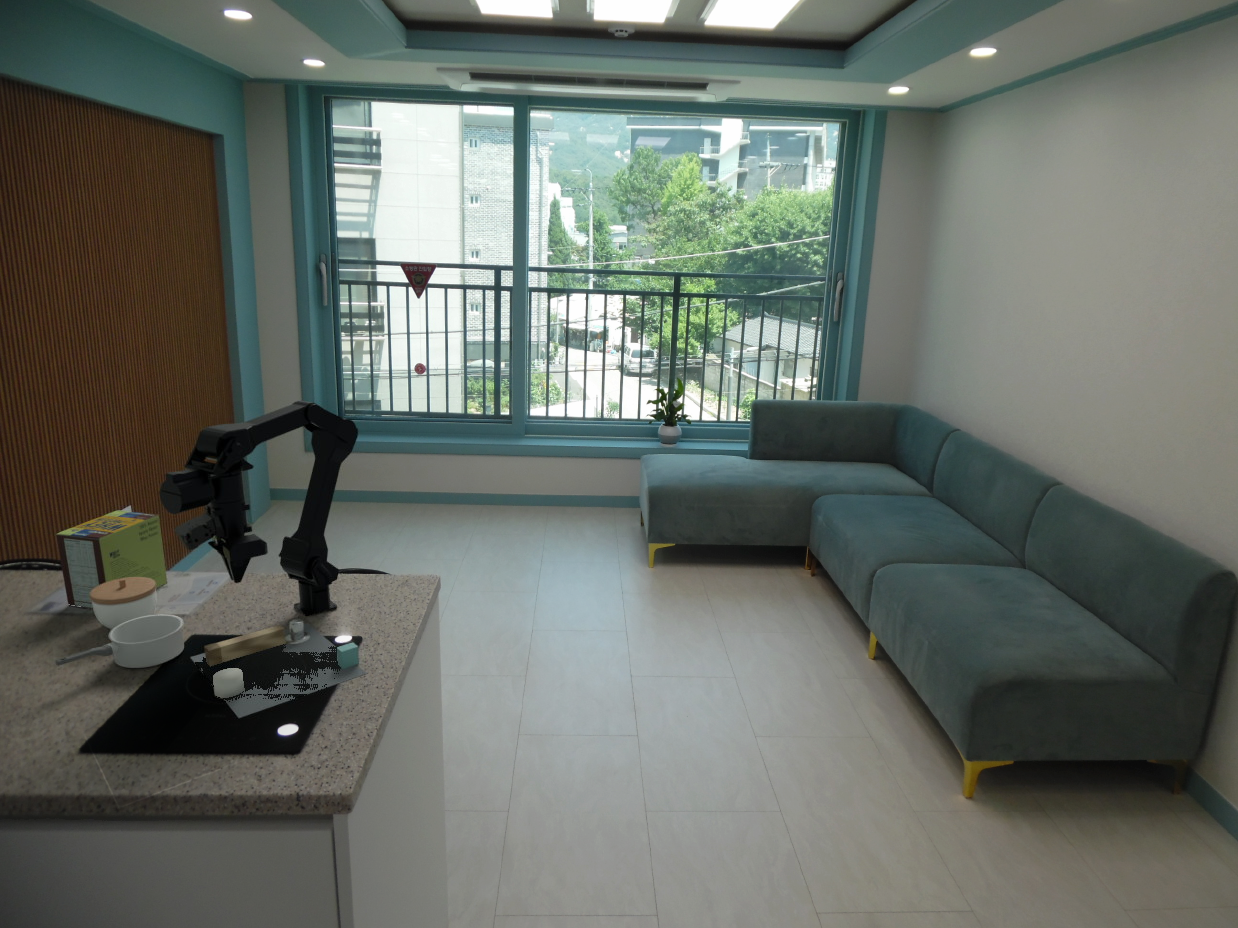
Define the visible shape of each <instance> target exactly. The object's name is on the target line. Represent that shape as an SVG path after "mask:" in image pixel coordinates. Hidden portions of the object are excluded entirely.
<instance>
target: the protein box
mask: <svg viewBox="0 0 1238 928" xmlns="http://www.w3.org/2000/svg"><path fill="white" fill-rule="evenodd" d="M160 524H161V523H160V517H159V514H156V513H155V514H154V513H147V512H146V513H145V512H136V511H127V510H121V509H120V510H119V509H118V510H115V511H111V512H109V513H107V514H104V515H102V516H99V517H97V518H96V517H95V518H93V519H90V520H88V521H85V522H83V523H80V524H78V525H76V526H73V527H70V528H67V529H65V530H62V531H60V532H58V533H56V534H55V535H56V543H57V548H58V554H59V559H60V565H61V571H62V576H63V583H64V589H65V593H66V600H67V605H68V604H70V605H75V606H81V607H85V608H84V609H87V608H90V609H89V610H93V606H92V601H91V599H90V592H91V590H92V589H94V588H95V587H96V586H98V585H100V584H103V583H105V582H108V581H112V580H116V579H121V578H127V577H146V578H150V579H153V580H154V581H155V582H156V589H157V588H161V587H162V586H164V585H165V584H167V583H168V578H167V570H166V569H167V568H166V561H165V555H164V545H163V538H162V532H161V531H162V530H161V525H160Z"/></svg>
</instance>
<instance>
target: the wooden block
mask: <svg viewBox="0 0 1238 928" xmlns="http://www.w3.org/2000/svg"><path fill="white" fill-rule="evenodd" d="M285 630H286V629H285V627H283V626H282V625H281V624H278V625H275V626H272V627H268V628H264V629H261V630H257V631H253V632H251V633H248V634H243V635H240V636H236V637H233V638H230V639H226V640H221V641H219V642H214V643H210V644H207V645H204V653H205V657H206V662H207V664H208V665H209V666H210V667H211V666H214V665H217V664H221V663H223V662H227V661H230V660H233V659H236V658H240V657H243V656H246V655H250V654H253V653H256V652H260V651H263V650H266V649H270V648H273V647H276V646H280V645H283V644H286V638H285Z"/></svg>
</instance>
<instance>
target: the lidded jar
mask: <svg viewBox="0 0 1238 928" xmlns="http://www.w3.org/2000/svg"><path fill="white" fill-rule="evenodd" d="M157 598H158V597H157V588H156V582H155V581H154V580H153V579H150V578H146V577H127V578H121V579H116V580H112V581H108V582H105V583H103V584H100V585H98V586H96V587H95V588H94V589H92V590H91V592H90V599H91V601H92V606H93V609H92V610H93V613H94V615H95V618H96V619H97V621H99V623H100V624H101V625H102V626H103V627H106V628H107V629H109V630H110V631H111V630H112V629H113V628H115V627H116V626H118V625H120V624H122V623H124V622H126V621H129V620H132V619H135V618H139V617H143V616H149V615H154V614H155V611H156V608H157V603H158V602H157Z"/></svg>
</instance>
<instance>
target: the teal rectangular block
mask: <svg viewBox="0 0 1238 928" xmlns="http://www.w3.org/2000/svg"><path fill="white" fill-rule="evenodd" d="M336 647H337V646H336ZM337 661H338V665H339V666H340V667H341V668H342V669H345V668H347V667H350V666H353V665H356V664H357V665H359V664H360V656H359V646H358V645H357V644H356V643H355V642H353V641H352V642H350V643H346V644H343V645H340V646H338V647H337Z"/></svg>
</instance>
